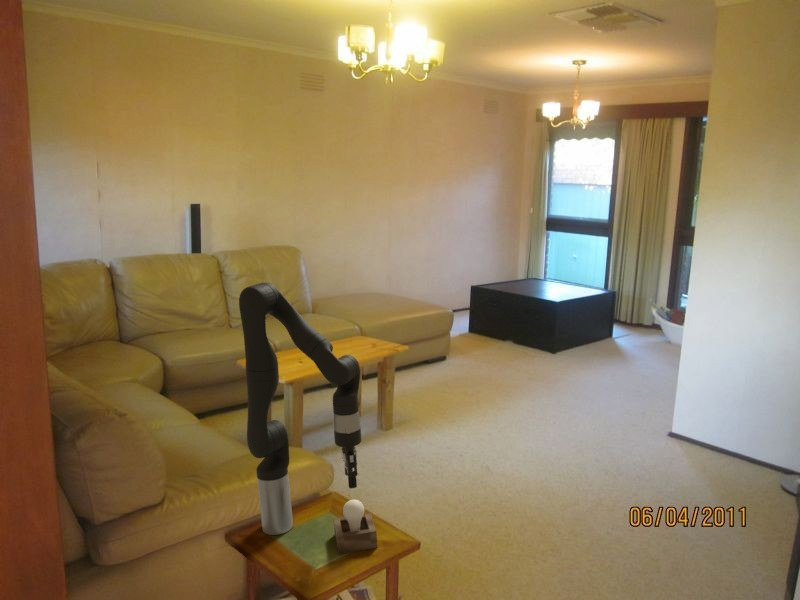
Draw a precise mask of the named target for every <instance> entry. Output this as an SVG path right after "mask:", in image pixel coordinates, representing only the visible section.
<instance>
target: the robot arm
mask: <svg viewBox="0 0 800 600" xmlns="http://www.w3.org/2000/svg"><path fill="white" fill-rule="evenodd" d="M238 308H239V314H240V319H241V326H242V327H241V328H242V332H243V342H244V354H245V356H244V357H245V377H246V387H247V388H246V389H247V390H246V391H247V421H246V422H247V425H246V426H247V427H246V428H247V429H246V441H247V447H248V450H249V451H250V454H251V455H252V456H253V457H254V458H257V459H262V460H261V462H259V464H258V465H257V466H256V472H255V473H256V480H257V481H256V482H257V489H258V490H257V491H258V498H259V499H258V500H259V509H260V519H261V527H262V531H263V533H264V534H266V535H270V536H277V535H282V534H285V533H288V532H289V531H290V530H291V529H292V528H293V527H294V521H293V510H292V500H291V499H292V498H291V490H290V480H289V477H290V476H289V469H288V468H289V465H290V446H289V445H290V444H289V435H288V431H287V429H286V426H285V425H284V424H283V423H282V421H280V420H277V419H272V420H269V421H268V415H269V410H270V406H271V403H272V402H273V399H274V397H275V394H276V391H277V389H278V385H279V381H280V377H279V375H280V374H279V373H280V372H279V359H278V356H277V354H276V353H275V352H276V351H275V350H274V349H273V347H272V345H271V343H270V341H269V338H268V336H267V331H266V330H267V329H266V327H267V325H266V315H267V316H268V315H270V316H272V318H275V319H277V320H278V321H279V322H280V323H281V324H282V325H283V327H285V329H286V331H287V333H288V335H289V337H290V339H291V340H292V342H293V344H294V345H295V347H296V348H297V349H298V350H300V351H301V352H302V353H303V354H304V355H305V356H306V357H308V358H309V359H310V360H311V361H313V363H314V364H315V366H316V367H317V369H318V370H319V372H320V373H321V374H322V376H323V377H324V378H325V380H326V381H328V382H329V383H331V384H332V385H334V386H336V387H337V388H336V390H335V391H334V392H333V395H332V411H333V414H332V415H333V418H332V421H333V422H332V423H333V434H334V435H333V438H334V444H335V445H336V446H337V447H339V448H341V449H340V451H341V458H342V461H343V463H344V464H343V465H344V475H345V476H347V483H348V488H349V489H355V488H357V487H358V483H357V476H358V475H359V473H358V467H357V466H358V459H357V456H358V453H357V452H358V451H357V450H356V446H358V445H360V444H361V442H362V430H361V427H362V426H361V417H360V410H359V400H358V395H359V389H360V381H361V368H360V364H359V361H358V360H357V358H355V356H353V355H351V354H345V355H342V356H340V357H337V356H335V354H334V353H333V350H334V346H333V344H332V343H331V342H330V340H328V339H327V338H326V337H324V336H323V334H321V333H320V332H318V331H317V330H316V328H314V327H313V326H312V325H310V324H309V322H308V321H307V320H306V319H305V318H304V317H302V315H301V314H300V313H299V312H298V311H297V309H296V308H295V307H294V306H293V305H292V304H291V303H290V302H289V301H288V299H287V298H286V297H285V295H284V294H283V293H282V292H281V291H280V290H279V289H278V288H277V287H276V286H275V285H273V284H272V283H270V282H260V283H255V284H253V285H249V286H247V287H245V288H243V290H241V292H240V294H239V298H238Z"/></svg>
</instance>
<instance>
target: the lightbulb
mask: <svg viewBox="0 0 800 600" xmlns="http://www.w3.org/2000/svg"><path fill="white" fill-rule="evenodd" d="M342 514H343V517H345V518H346V520H347V521H348V523H349V527H350V529H351V532H354V531H360V523H361V519H362V517H363V515H364V514H365V507H364V504H363V502H361V501H360V500H358V499H350V500H348V501H347V502H346V503H344V505H343V508H342Z"/></svg>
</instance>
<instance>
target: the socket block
mask: <svg viewBox="0 0 800 600" xmlns="http://www.w3.org/2000/svg"><path fill="white" fill-rule="evenodd" d="M333 527H334V537H335V542H336V547H337V552H338V555H341V554H347V553H354V552H359V551H360V552H361V551H366V550H372V549H377V548H378V538H377V536H378V535H377V529H376V527H375V522H374V520H373V517H372V514H371V512H369V513H364V515H363V517H362V519H361V523H360V531H354V532H351V529H350V527H349V523H348V521H347V520H346V518H345V517H344V516H342V517H337V518H336V517H335V518H333Z"/></svg>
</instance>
